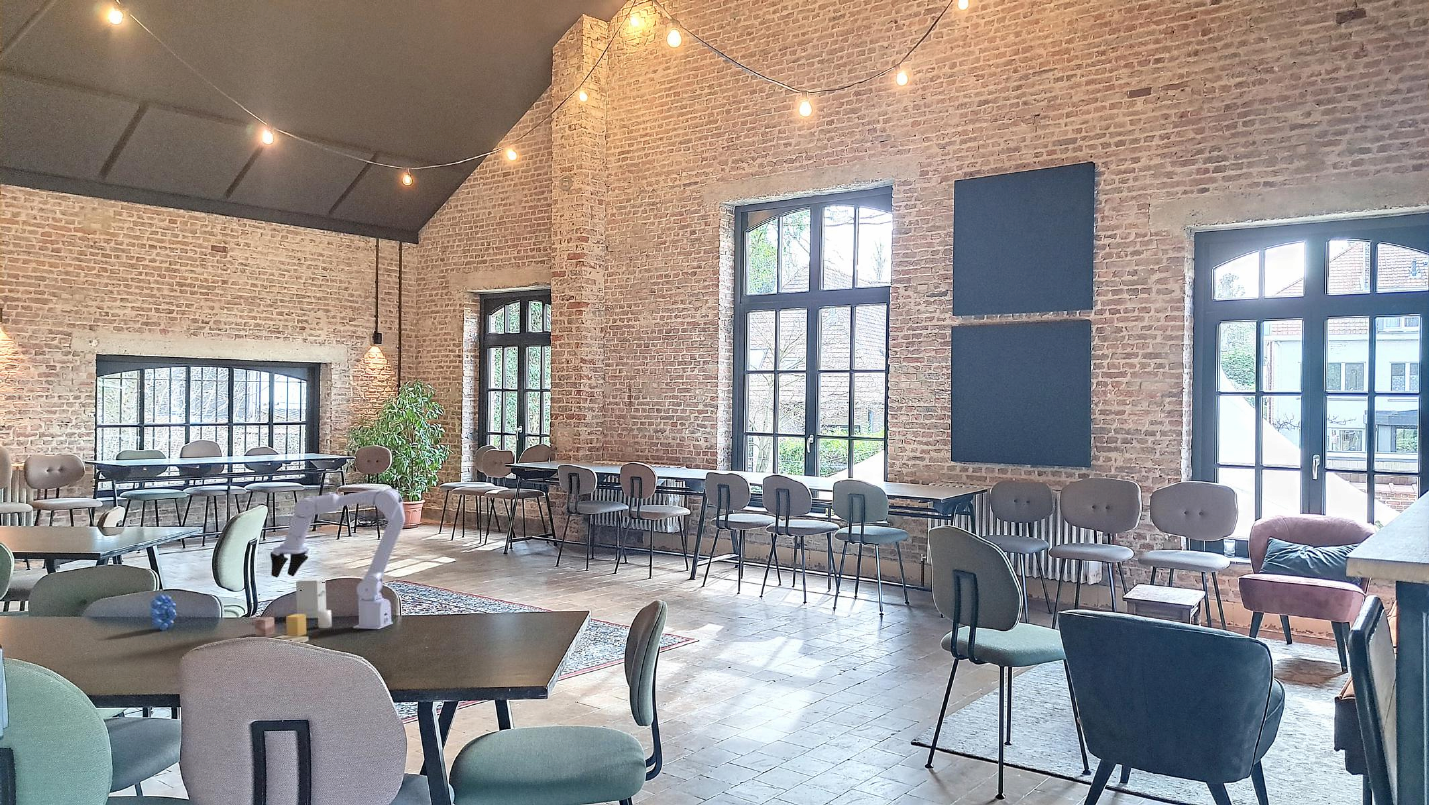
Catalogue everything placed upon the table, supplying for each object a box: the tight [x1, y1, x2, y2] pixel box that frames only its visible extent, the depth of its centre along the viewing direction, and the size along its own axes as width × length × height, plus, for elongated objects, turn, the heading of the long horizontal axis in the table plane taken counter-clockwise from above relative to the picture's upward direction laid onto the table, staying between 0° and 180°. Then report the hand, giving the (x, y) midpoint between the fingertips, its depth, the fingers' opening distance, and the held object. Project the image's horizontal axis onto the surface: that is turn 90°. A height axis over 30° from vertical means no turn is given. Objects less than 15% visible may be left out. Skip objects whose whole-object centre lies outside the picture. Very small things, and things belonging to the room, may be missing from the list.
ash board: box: [274, 635, 309, 644], centre depth 304 cm, size 10×10×1 cm
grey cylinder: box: [317, 609, 333, 629], centre depth 326 cm, size 4×4×5 cm
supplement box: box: [295, 576, 327, 619], centre depth 342 cm, size 7×7×13 cm
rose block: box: [253, 616, 276, 637], centre depth 318 cm, size 4×4×5 cm
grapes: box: [148, 593, 178, 631], centre depth 327 cm, size 12×7×12 cm, turn 173°
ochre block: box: [285, 613, 307, 636], centre depth 316 cm, size 4×4×6 cm
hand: (282, 575), depth 321 cm, fingers open, 7 cm apart
